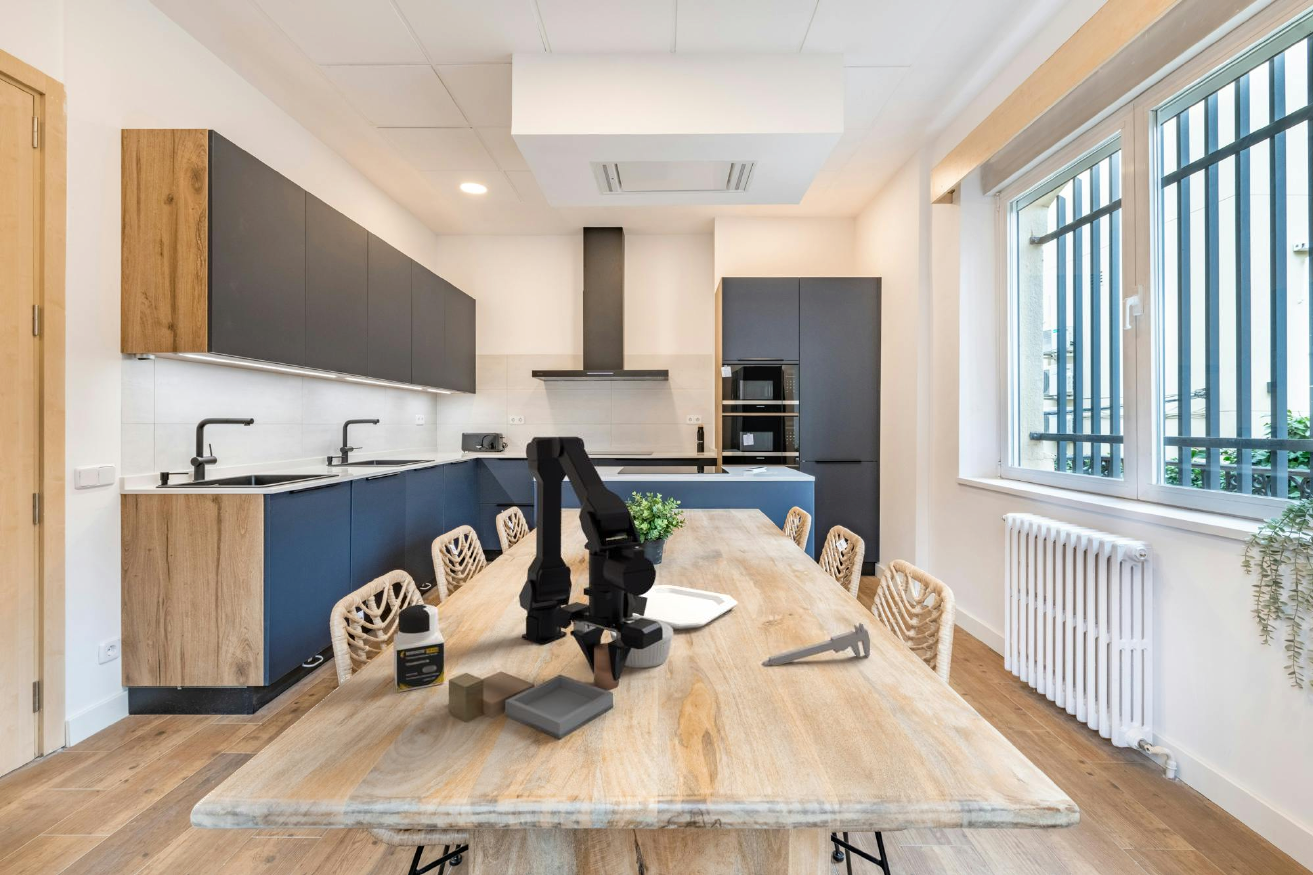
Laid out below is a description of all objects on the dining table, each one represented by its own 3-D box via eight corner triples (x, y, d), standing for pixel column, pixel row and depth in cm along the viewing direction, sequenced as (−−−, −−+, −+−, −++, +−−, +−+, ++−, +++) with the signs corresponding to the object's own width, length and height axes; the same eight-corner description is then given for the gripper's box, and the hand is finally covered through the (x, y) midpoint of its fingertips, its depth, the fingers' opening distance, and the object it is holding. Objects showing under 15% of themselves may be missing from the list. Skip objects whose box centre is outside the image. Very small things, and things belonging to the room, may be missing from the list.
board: (500, 686, 95) (500, 671, 95) (534, 700, 90) (534, 684, 90) (458, 705, 88) (458, 688, 88) (492, 720, 84) (492, 703, 84)
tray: (560, 688, 93) (560, 674, 93) (613, 707, 87) (613, 692, 87) (505, 715, 84) (505, 700, 84) (559, 739, 78) (559, 723, 78)
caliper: (866, 655, 107) (866, 622, 107) (870, 658, 106) (870, 624, 106) (762, 665, 103) (762, 629, 103) (764, 667, 102) (764, 632, 102)
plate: (745, 606, 137) (745, 597, 137) (693, 639, 116) (693, 628, 116) (656, 590, 150) (656, 582, 150) (595, 617, 129) (595, 607, 129)
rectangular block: (466, 706, 87) (466, 672, 87) (483, 713, 85) (483, 679, 85) (448, 713, 85) (448, 679, 85) (465, 722, 82) (465, 686, 82)
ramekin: (597, 659, 105) (597, 629, 105) (641, 642, 114) (641, 615, 113) (642, 677, 98) (642, 645, 98) (685, 657, 106) (685, 629, 106)
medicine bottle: (396, 693, 91) (396, 616, 91) (393, 676, 98) (393, 604, 97) (444, 684, 95) (444, 610, 94) (438, 668, 101) (438, 598, 101)
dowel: (605, 676, 98) (605, 641, 97) (623, 683, 95) (623, 646, 95) (588, 685, 94) (588, 648, 94) (607, 691, 92) (607, 654, 92)
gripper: (682, 579, 95) (682, 674, 96) (596, 563, 106) (596, 648, 107) (640, 594, 86) (640, 699, 87) (551, 575, 97) (552, 668, 98)
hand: (606, 676), depth 95 cm, fingers closed on dowel, 4 cm apart
